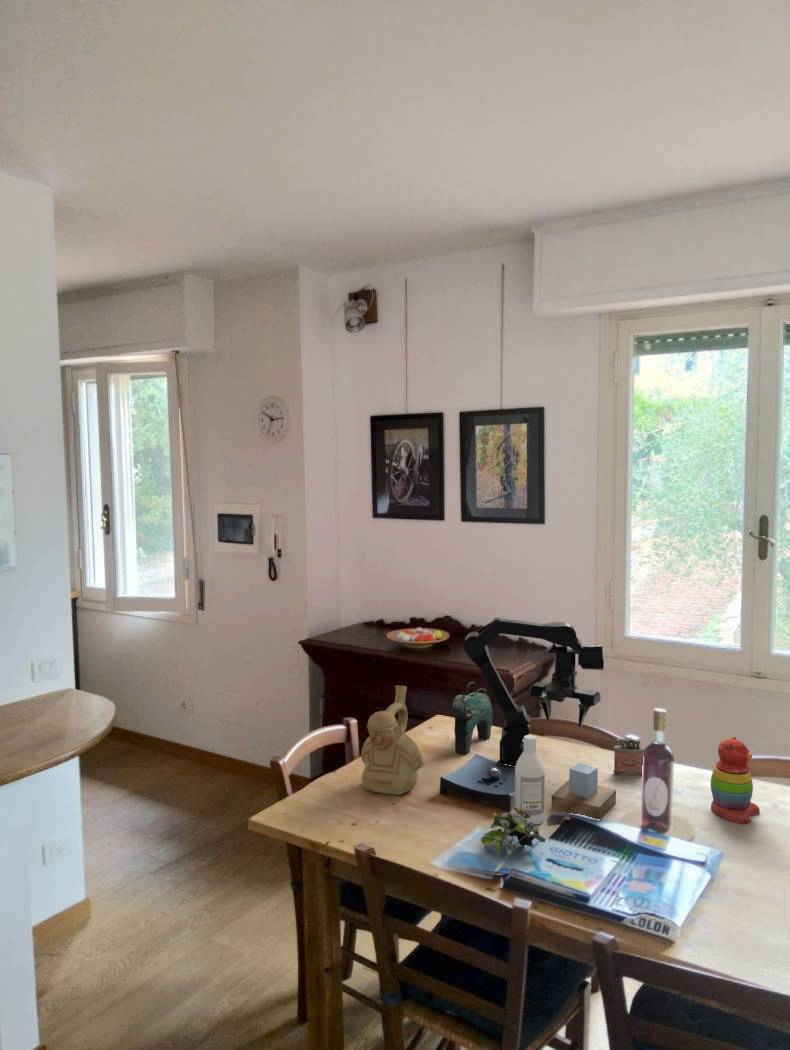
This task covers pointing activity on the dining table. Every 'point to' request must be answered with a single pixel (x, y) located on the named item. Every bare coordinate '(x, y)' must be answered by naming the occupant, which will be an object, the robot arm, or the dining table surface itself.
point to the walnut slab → (584, 802)
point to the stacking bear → (733, 783)
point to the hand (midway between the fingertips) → (564, 723)
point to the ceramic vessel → (390, 751)
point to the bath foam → (530, 782)
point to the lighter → (628, 758)
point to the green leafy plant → (512, 831)
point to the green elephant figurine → (471, 719)
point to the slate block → (583, 780)
